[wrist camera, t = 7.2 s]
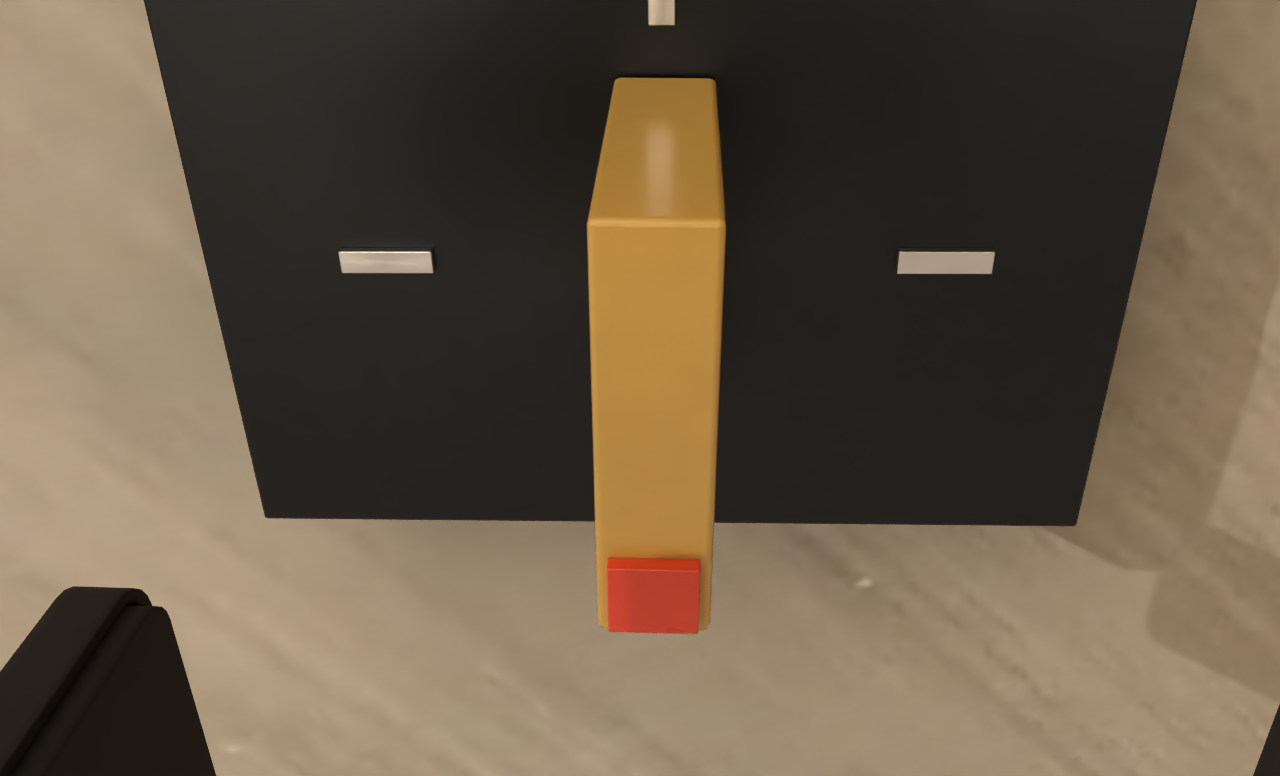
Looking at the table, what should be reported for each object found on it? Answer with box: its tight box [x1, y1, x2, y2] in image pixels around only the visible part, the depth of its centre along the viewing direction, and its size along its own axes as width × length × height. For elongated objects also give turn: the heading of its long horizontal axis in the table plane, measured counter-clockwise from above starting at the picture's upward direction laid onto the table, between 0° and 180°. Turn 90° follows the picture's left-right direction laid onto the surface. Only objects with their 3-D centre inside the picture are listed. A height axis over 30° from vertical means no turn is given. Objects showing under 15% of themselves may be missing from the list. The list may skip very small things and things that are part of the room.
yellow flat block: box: [587, 78, 726, 634], centre depth 15 cm, size 6×1×5 cm, turn 0°
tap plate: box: [144, 0, 1197, 526], centre depth 18 cm, size 14×10×3 cm
